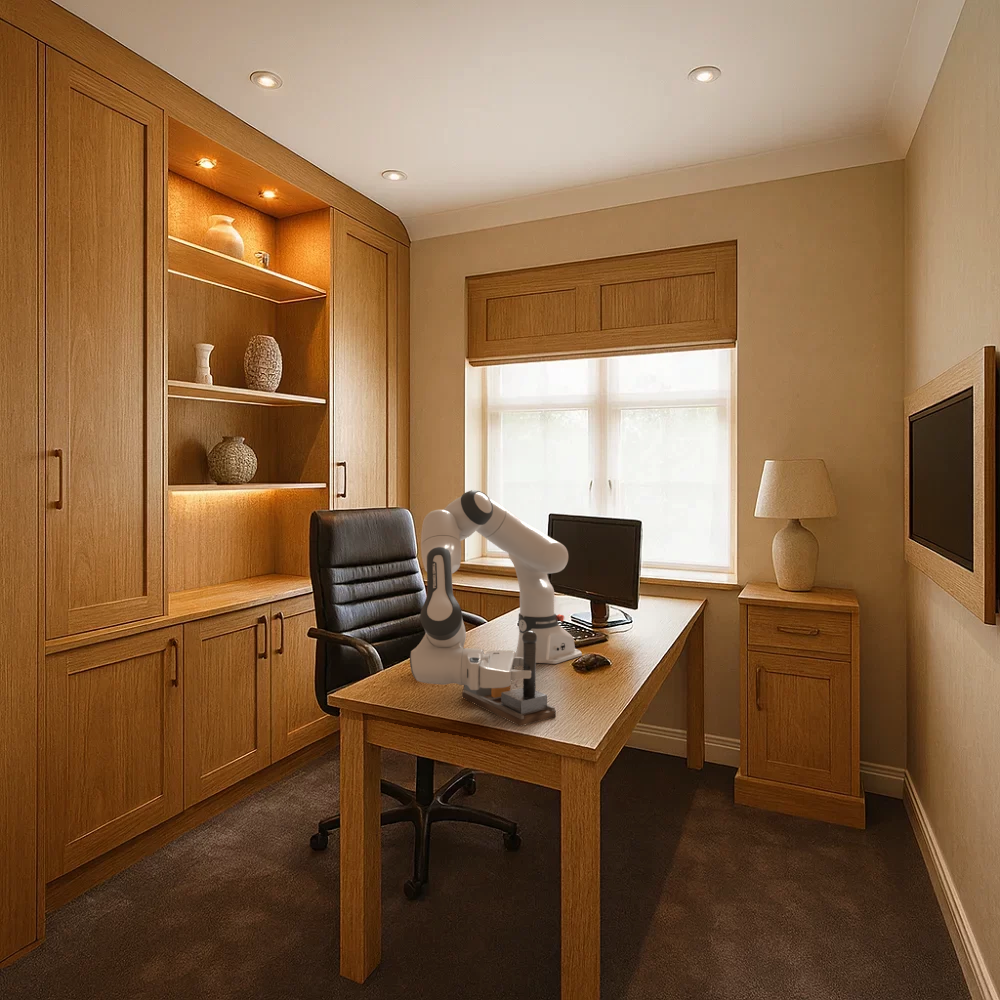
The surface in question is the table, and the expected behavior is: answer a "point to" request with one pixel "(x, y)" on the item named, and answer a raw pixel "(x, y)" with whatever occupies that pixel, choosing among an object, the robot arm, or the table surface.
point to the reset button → (499, 691)
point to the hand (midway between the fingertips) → (532, 668)
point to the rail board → (497, 708)
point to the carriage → (526, 683)
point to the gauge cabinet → (479, 691)
